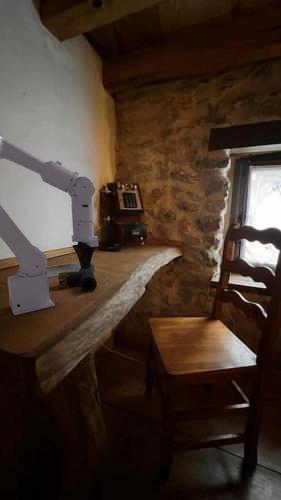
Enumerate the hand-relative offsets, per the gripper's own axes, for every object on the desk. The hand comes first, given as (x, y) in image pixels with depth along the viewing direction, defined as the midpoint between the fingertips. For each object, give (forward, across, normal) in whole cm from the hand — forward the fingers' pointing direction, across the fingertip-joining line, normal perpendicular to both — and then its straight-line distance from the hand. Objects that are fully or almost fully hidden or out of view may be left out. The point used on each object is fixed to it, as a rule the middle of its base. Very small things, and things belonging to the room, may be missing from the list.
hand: (85, 268), depth 67 cm
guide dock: (+8, +26, -3) cm, 28 cm away
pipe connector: (+9, +11, -1) cm, 14 cm away
